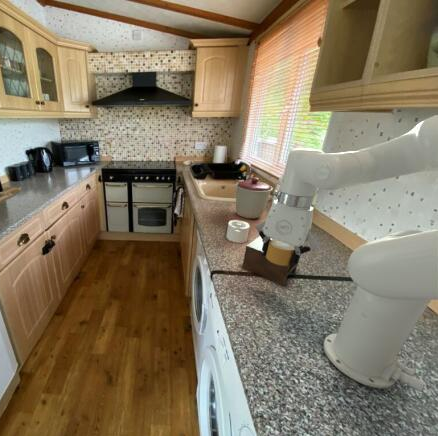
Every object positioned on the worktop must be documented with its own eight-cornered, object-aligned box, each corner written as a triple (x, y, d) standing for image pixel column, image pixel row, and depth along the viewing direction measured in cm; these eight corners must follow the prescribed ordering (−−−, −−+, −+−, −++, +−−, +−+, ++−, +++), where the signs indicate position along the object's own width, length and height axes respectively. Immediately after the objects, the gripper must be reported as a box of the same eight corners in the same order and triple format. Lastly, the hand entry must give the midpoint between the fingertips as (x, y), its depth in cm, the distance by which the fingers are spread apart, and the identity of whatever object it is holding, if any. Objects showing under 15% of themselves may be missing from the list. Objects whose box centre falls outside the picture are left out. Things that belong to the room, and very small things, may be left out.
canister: (224, 212, 137) (229, 175, 129) (247, 207, 145) (254, 172, 136) (248, 224, 122) (256, 183, 114) (273, 218, 129) (282, 179, 121)
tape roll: (295, 259, 68) (299, 244, 66) (286, 268, 64) (291, 253, 62) (271, 250, 73) (274, 236, 71) (261, 258, 69) (265, 243, 67)
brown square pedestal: (295, 271, 85) (302, 249, 82) (283, 286, 78) (289, 262, 74) (256, 255, 95) (261, 235, 91) (242, 267, 87) (246, 245, 84)
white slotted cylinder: (246, 244, 103) (249, 230, 100) (225, 240, 106) (227, 226, 103) (248, 226, 120) (250, 213, 117) (230, 223, 123) (231, 211, 120)
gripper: (254, 194, 65) (243, 251, 72) (331, 212, 53) (308, 279, 60) (266, 189, 70) (254, 243, 77) (339, 204, 58) (317, 267, 65)
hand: (278, 258), depth 68 cm, fingers closed on tape roll, 6 cm apart
